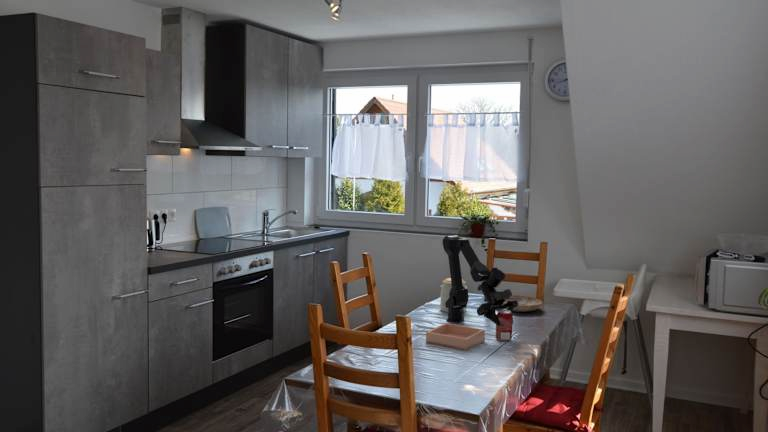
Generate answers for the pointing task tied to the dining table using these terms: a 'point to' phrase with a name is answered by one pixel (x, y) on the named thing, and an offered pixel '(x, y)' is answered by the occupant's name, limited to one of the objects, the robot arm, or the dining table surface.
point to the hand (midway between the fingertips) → (506, 324)
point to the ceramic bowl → (525, 303)
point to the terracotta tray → (455, 336)
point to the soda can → (504, 325)
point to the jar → (447, 293)
